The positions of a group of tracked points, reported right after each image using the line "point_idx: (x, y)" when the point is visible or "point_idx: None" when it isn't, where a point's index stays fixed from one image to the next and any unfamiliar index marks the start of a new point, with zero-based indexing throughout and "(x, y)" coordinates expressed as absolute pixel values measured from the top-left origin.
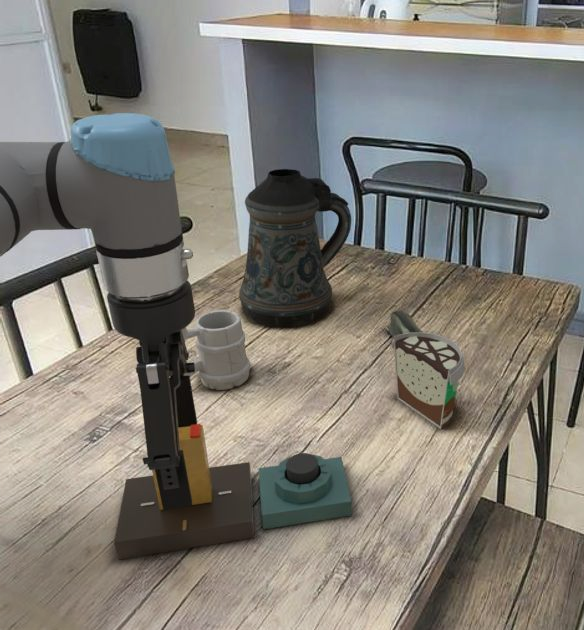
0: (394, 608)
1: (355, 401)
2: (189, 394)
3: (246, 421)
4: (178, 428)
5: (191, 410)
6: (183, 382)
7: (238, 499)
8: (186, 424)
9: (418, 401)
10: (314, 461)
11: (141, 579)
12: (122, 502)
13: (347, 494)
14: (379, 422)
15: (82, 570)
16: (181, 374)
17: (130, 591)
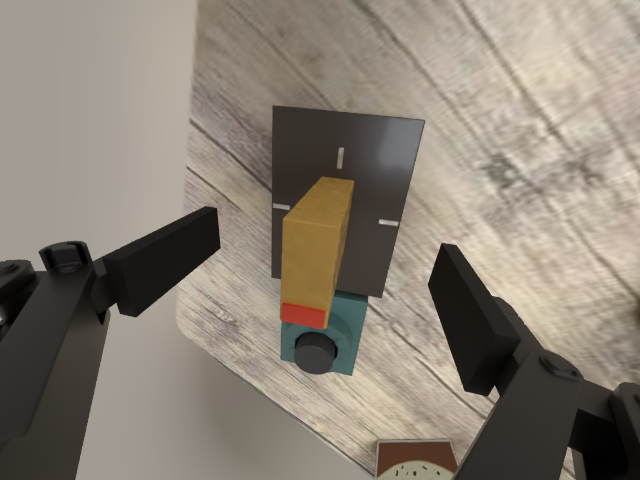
0: (186, 333)
1: (473, 411)
2: (450, 340)
3: (515, 303)
4: (326, 288)
5: (438, 304)
6: (466, 368)
7: None
8: (434, 271)
9: (415, 457)
10: (310, 371)
11: (246, 139)
12: (360, 115)
13: (289, 360)
14: (417, 411)
15: (277, 52)
16: (499, 387)
17: (230, 125)
